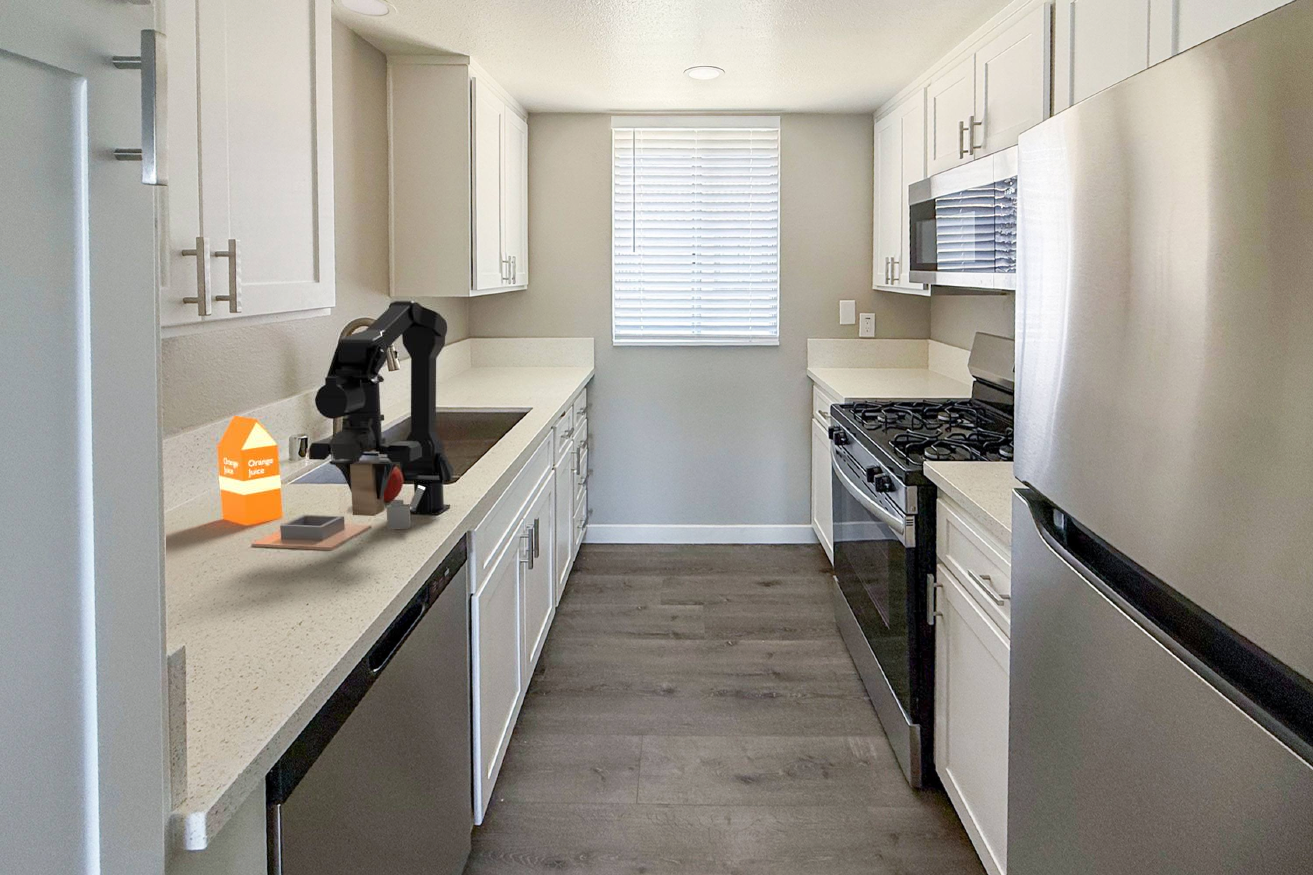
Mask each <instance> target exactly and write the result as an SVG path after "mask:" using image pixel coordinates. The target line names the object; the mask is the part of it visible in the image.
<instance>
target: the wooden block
mask: <svg viewBox="0 0 1313 875" xmlns="http://www.w3.org/2000/svg"><path fill="white" fill-rule="evenodd" d="M378 461H379V460H367V459H365V460H364V459H363V460H361V459H360V461H358V462H355V463H353V464H350V475H351V490H350V493H351V505H352V508H351V509H352V516H364V517H368V516H369V517H375V516H377V515H378V514H381V513H382V512H384V511H385V502H384V494H383V497H382V499H380V500H378V499H377V493H376V470H375V468H374V466H373V463H375V462H378Z"/></svg>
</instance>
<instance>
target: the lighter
mask: <svg viewBox="0 0 1313 875" xmlns="http://www.w3.org/2000/svg"><path fill="white" fill-rule="evenodd" d="M424 490H425V487H423V486H420V485H418V487H417V489H416V492H415V494H414V495H413V496H412V498H411V501H410V503H407V504H406V503H405V502H404V499H394V500H392V501H390V503H389V504H387V505H386V507H385V508H386V526H387V527H386V529H387V530H400V529H401V530H403V529H404V530H405V529H411V526H412V524H411V523H412V522H411V513H410V509H412V508H415V509H416V507H417V505H418V503H419V500H420V498H421V496H422V494H423V492H424Z"/></svg>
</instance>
